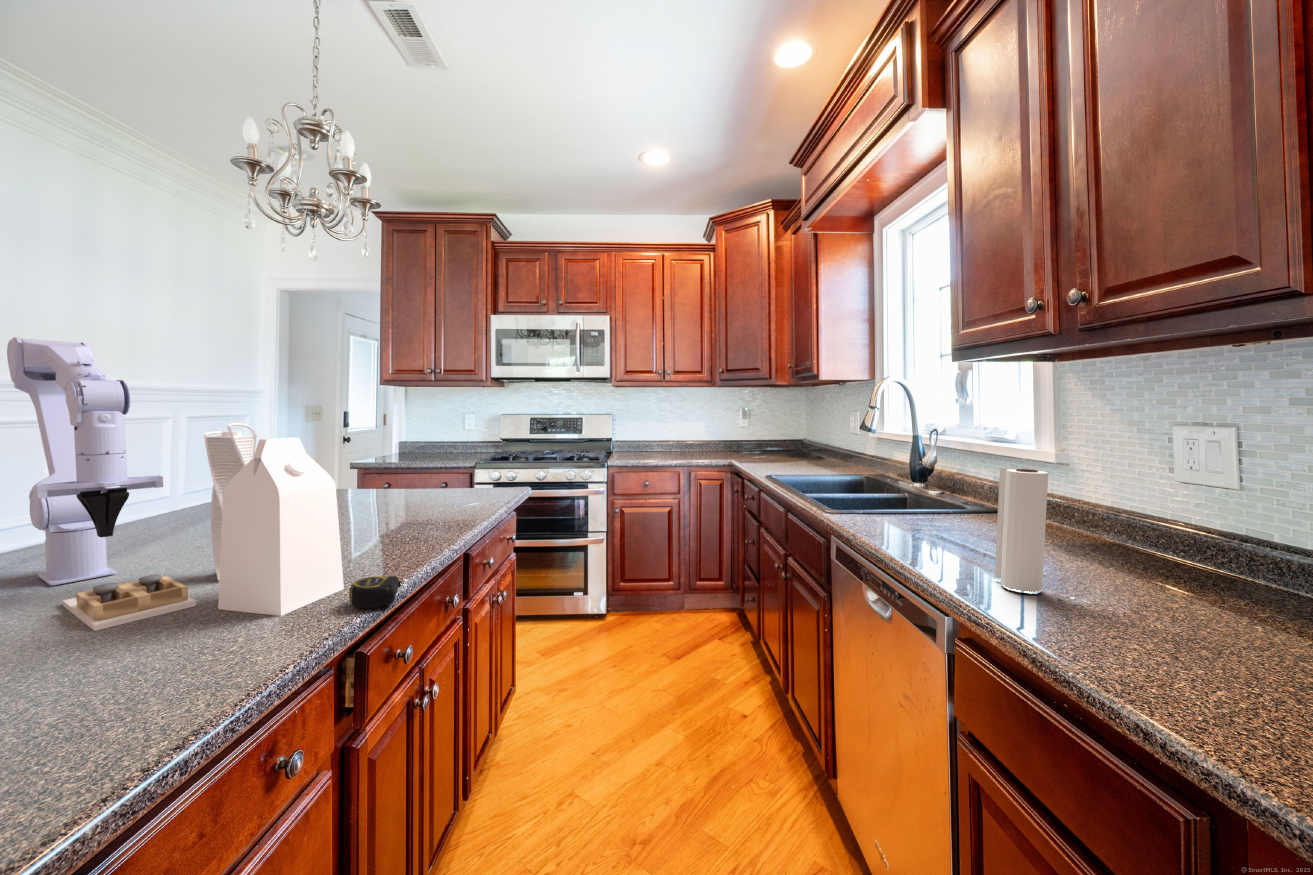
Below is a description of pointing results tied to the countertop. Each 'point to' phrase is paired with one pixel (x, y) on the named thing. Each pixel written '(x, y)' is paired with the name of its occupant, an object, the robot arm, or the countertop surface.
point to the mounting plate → (106, 596)
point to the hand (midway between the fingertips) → (105, 535)
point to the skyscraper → (225, 472)
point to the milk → (279, 532)
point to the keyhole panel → (131, 598)
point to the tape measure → (374, 591)
